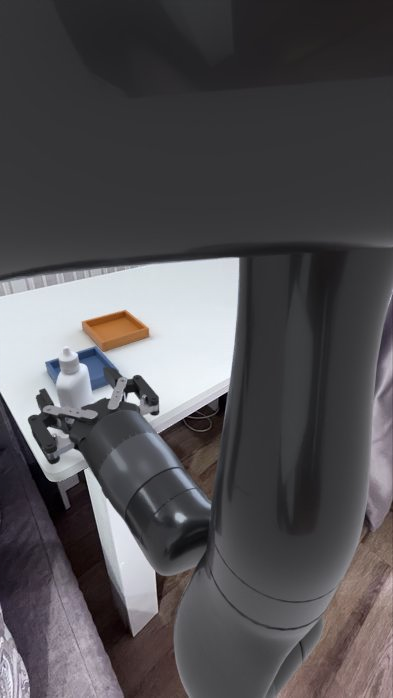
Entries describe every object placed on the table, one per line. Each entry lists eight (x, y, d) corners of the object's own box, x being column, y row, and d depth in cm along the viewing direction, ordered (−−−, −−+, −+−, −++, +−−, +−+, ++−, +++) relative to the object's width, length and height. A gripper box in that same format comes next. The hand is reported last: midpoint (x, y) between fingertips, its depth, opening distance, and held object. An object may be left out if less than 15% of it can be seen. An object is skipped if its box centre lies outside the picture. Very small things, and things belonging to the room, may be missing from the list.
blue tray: (65, 400, 51) (63, 390, 50) (47, 371, 57) (44, 362, 56) (119, 379, 56) (118, 370, 55) (97, 354, 62) (96, 345, 61)
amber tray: (103, 351, 63) (102, 343, 62) (82, 329, 70) (81, 321, 69) (149, 336, 69) (149, 328, 68) (126, 317, 75) (125, 309, 74)
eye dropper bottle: (54, 419, 48) (36, 350, 42) (86, 399, 52) (74, 333, 45) (73, 433, 46) (56, 363, 39) (105, 411, 50) (94, 344, 43)
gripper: (191, 409, 35) (122, 343, 46) (56, 477, 28) (10, 379, 39) (189, 455, 40) (126, 385, 50) (71, 525, 32) (26, 424, 43)
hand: (76, 382), depth 44 cm, fingers open, 8 cm apart
